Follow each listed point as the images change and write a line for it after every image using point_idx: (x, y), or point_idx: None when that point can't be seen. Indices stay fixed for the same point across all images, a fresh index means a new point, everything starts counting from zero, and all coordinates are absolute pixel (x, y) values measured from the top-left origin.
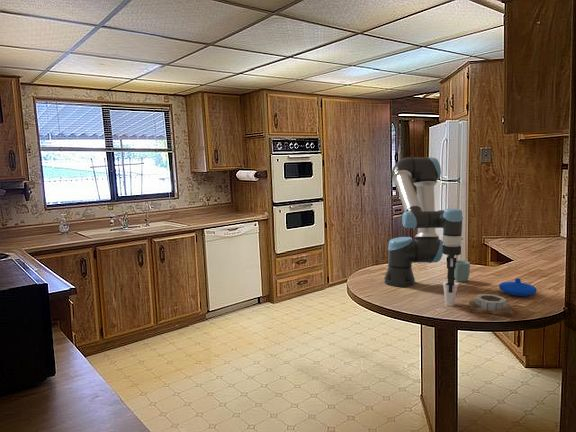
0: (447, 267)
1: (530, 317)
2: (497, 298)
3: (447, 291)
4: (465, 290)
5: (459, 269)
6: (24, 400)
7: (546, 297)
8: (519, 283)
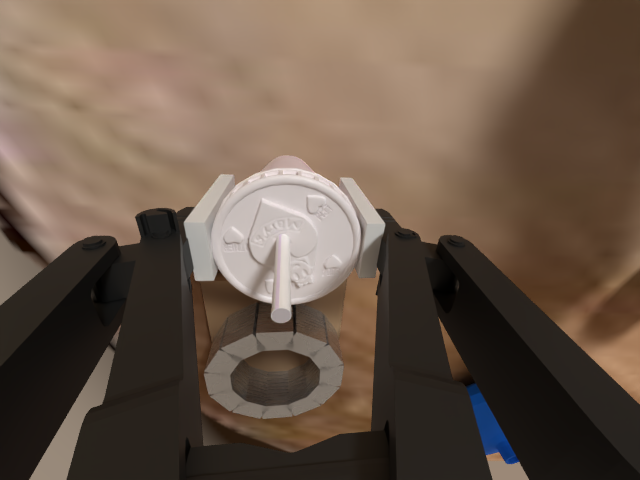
0: (87, 433)
1: (232, 419)
2: (303, 392)
3: (206, 198)
4: (538, 262)
5: None
6: None
7: None
8: (492, 446)
